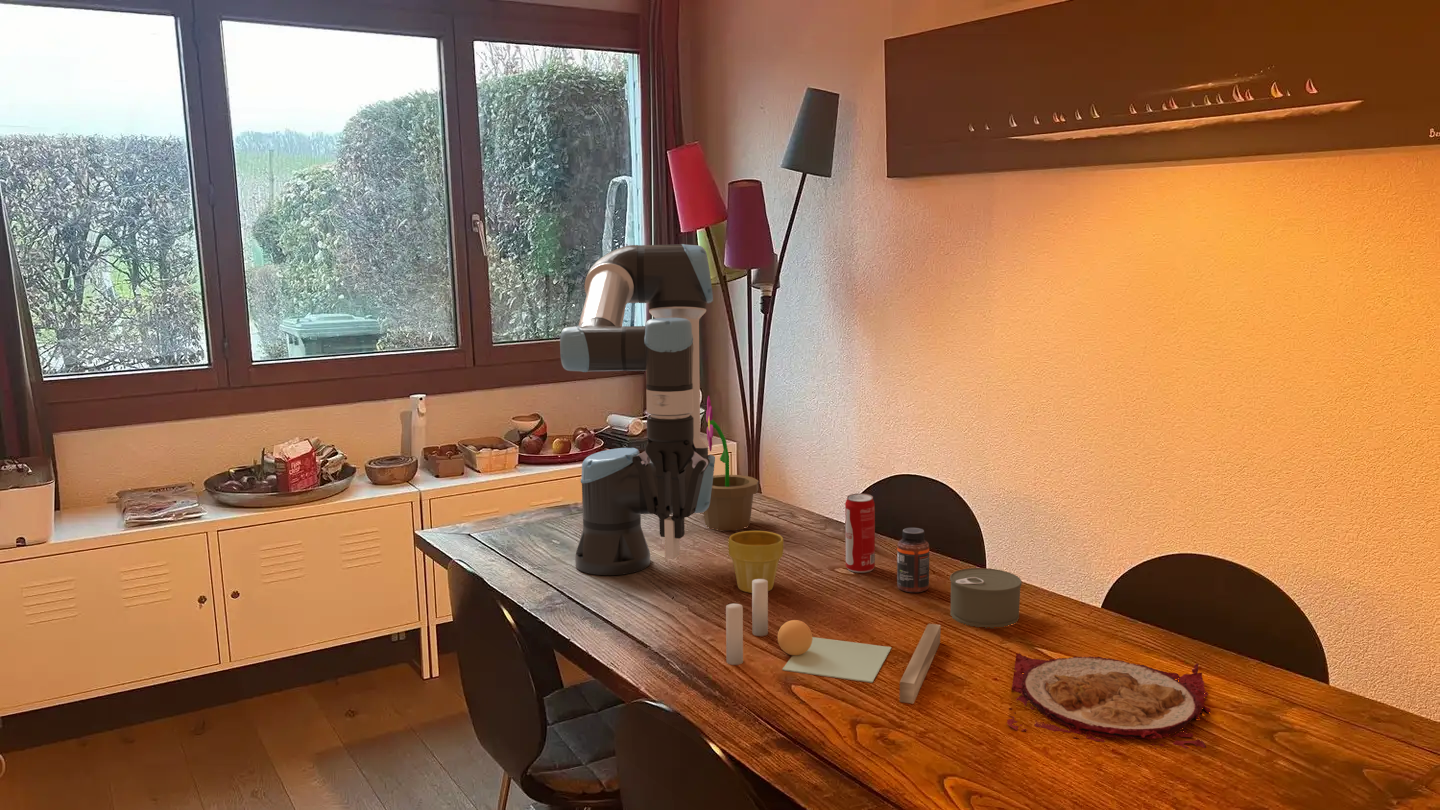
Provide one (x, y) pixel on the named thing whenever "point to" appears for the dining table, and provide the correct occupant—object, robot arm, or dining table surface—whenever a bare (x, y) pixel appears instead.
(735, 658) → the post
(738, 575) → the plant pot
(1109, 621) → the dining table surface
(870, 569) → the beverage can
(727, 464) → the flowerpot
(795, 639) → the ball
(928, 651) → the wall
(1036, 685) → the plate with food
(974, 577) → the can
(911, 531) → the supplement bottle
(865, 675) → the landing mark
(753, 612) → the post
